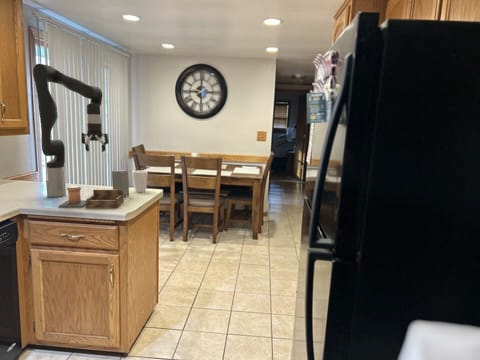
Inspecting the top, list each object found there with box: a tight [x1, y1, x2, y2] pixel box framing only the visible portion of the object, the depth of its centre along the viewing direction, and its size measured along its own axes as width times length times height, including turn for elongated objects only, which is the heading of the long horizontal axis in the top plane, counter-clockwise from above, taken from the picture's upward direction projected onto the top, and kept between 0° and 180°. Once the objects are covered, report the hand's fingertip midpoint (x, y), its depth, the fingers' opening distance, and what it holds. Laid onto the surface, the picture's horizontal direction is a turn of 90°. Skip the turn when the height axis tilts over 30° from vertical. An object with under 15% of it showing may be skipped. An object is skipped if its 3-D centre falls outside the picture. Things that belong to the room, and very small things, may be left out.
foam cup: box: [131, 169, 149, 193], centre depth 223 cm, size 10×9×13 cm
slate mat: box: [58, 199, 86, 209], centre depth 186 cm, size 12×12×1 cm
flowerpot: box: [66, 185, 82, 204], centre depth 185 cm, size 7×7×9 cm
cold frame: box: [85, 189, 125, 209], centre depth 187 cm, size 16×14×7 cm
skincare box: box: [111, 169, 130, 197], centre depth 208 cm, size 8×7×16 cm
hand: (95, 151), depth 196 cm, fingers open, 8 cm apart
